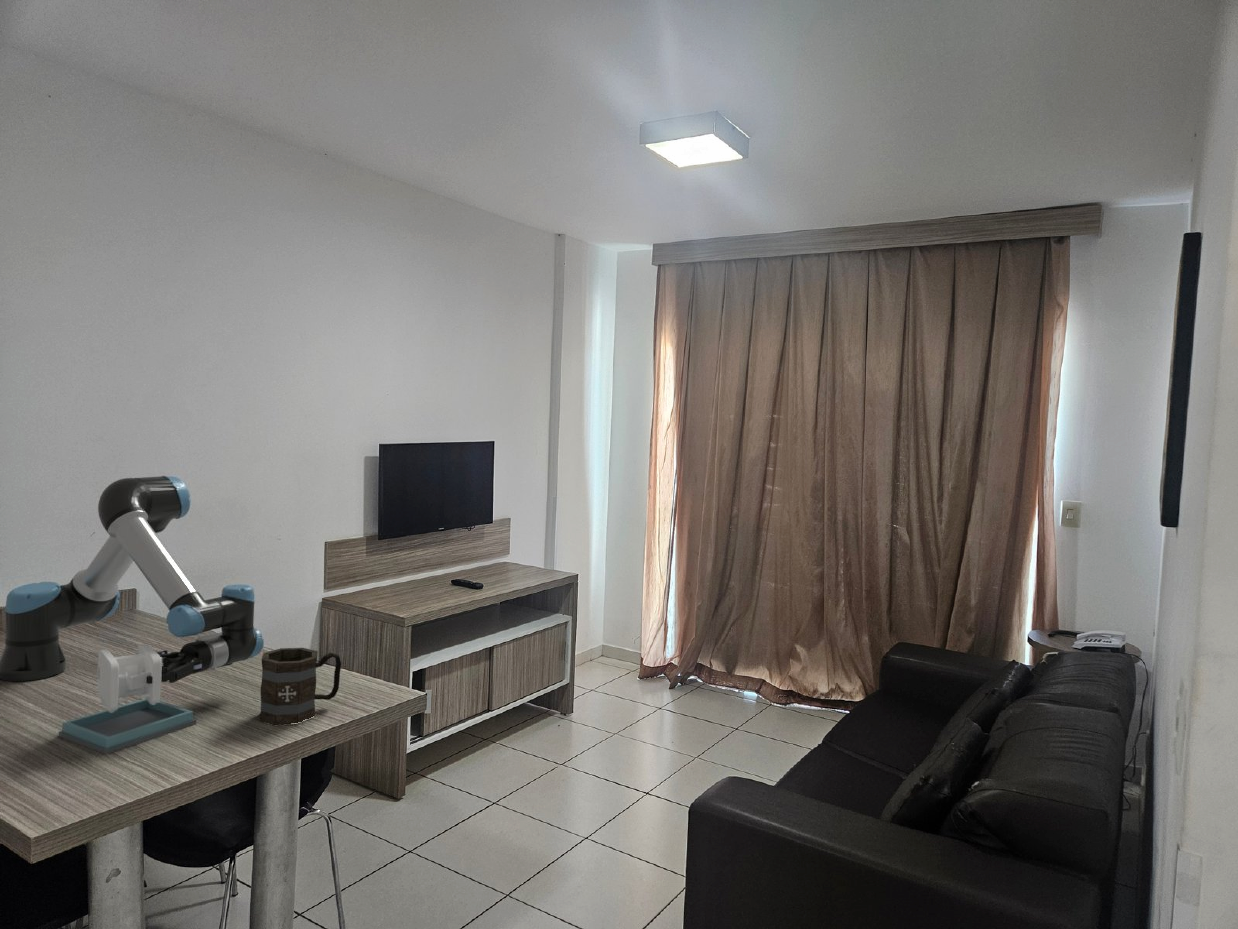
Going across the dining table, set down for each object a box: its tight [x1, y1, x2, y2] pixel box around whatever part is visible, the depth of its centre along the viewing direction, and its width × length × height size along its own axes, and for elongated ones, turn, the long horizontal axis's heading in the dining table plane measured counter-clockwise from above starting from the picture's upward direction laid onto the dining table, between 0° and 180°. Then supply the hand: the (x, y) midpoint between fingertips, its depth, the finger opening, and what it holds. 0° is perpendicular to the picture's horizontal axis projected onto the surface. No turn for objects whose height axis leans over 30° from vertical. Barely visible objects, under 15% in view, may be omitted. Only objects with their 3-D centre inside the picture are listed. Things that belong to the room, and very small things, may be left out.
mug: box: [258, 647, 342, 726], centre depth 201 cm, size 20×14×15 cm
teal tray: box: [58, 698, 197, 755], centre depth 185 cm, size 17×21×3 cm
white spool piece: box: [97, 643, 163, 713], centre depth 184 cm, size 15×11×12 cm
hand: (113, 678), depth 180 cm, fingers closed on white spool piece, 11 cm apart
